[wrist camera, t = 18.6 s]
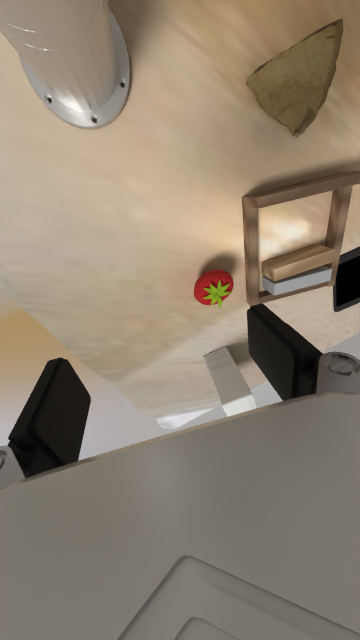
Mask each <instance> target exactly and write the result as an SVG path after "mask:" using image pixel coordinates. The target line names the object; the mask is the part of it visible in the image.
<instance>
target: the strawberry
mask: <svg viewBox="0 0 360 640" xmlns="http://www.w3.org/2000/svg"><path fill="white" fill-rule="evenodd" d="M233 285H234V282H233V279H232V277H231V275H230V274H229V273H228V272H226V271H222V270H211V271H208V272H206V273H204V274H203V275H202V276H201V277H199V279H198V280H197V281H196V283H195V287H194V296H195V298H196V300H197V301H199V302H200V303H202V304H204V305H210V306H211V305H214V304H217V303H218V304H219V306H220V307H221V303H223V302H222V301H223V300H224V299H225V298H227V297H228V295H229V294H230V293H232V292H231V291H232V289H233Z"/></svg>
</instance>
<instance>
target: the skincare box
mask: <svg viewBox="0 0 360 640" xmlns="http://www.w3.org/2000/svg"><path fill="white" fill-rule="evenodd" d="M203 357H204V360H205V362H206V365H207V368H208V371H209V373H210V376H211V379H212V381H213V384H214V387H215V389H216V392H217V395H218V397H219V400H220V402H221V404H222V406H223V409H224V411H225V413H226V415H227V417H229V416H232V415H235V414H239V413H242V412H246V411H249V410H253V409H256V408H257V405H256V402H255V399H254V396H253V394H252V393H251V391H250V389H249V387H248V385H247V383H246V382H245V380H244V378H243V376H242V375H241V373H240V371H239V369H238V367H237V366H236V364H235V362H234V360H233V358H232V357H231V355H230V353H229V351H228V350H227V348H226V347H223V348H221V349H219V350H216V351H214V352H212V353H209V354H207V355H205V356H203Z"/></svg>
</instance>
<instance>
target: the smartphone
mask: <svg viewBox="0 0 360 640" xmlns="http://www.w3.org/2000/svg"><path fill="white" fill-rule="evenodd" d="M333 301H334V311H335V312H338V311H341V310H343V309H346V308H348V307H350V306H353V305H355V304H357V303H359V302H360V247H358V248H356V249H354V250H351V251H349V252H347V253H345V254H343V255H340V258H339V263H338V269H337V274H336V280H335V285H333Z"/></svg>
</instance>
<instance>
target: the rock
mask: <svg viewBox="0 0 360 640" xmlns="http://www.w3.org/2000/svg"><path fill="white" fill-rule="evenodd" d="M342 33H343V20H342V19H339V20H337V21H335V22H333V23H331V24H329V25H327V26H325V27H323V28H321V29H319V30H317V31H316V32H314V33H313V34H311V35H309V36H308V37H306V38H305V39H304V40H302V41H301V42H300V43H298V44H296V45H295V46H293V47H291V48H290V49H289V50H287V51H286V52H284V53H282V54H280V55H279V56H277V57H276V58H274V59H271V60H270V61H268V62H267V63H265V64H264V65H262V66H261V67H259V68H258V69H257V70H256V71H255V72H254V73H253V74H252V75H251V76H250V77H249V78H247V85H249V86H250V87H251V88H252V90H253V92H254V94H255V95H256V98H257V101H258V102H259V104H260V107H261V108H263V109H264V110H265V111H266V112H267V113H268V115H270V116H272V117H273V118H274V119H275V118H276V119H277V120H278V121H279V122H280V123H281V124H283V125H286V126H287V127H288V128H289V130H290V131H291V132H292V134H293V135H294V136H296V137H298V136H299V135H300V134H302V133H303V132H304V131H305V129H306V128H307V127H308V126H309V125H310V124H311V123H312V122H313V120H314V119H315V117H316V115H317V113H318V111H319V109H320V107H321V106H322V105H323V103H324V102H325V100H326V96H327V93H328V89H329V87H330V85H331V81H332V79H333V76H334V74H335V70H336V60H337V57H338V53H339V48H340V42H341V37H342Z"/></svg>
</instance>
